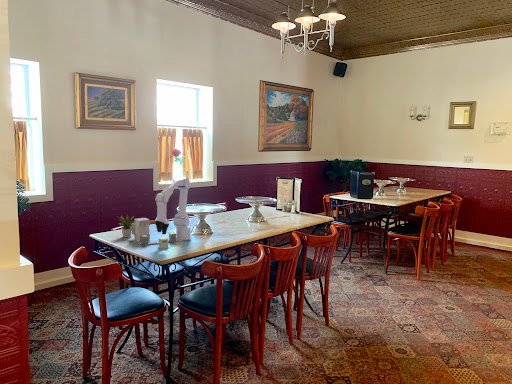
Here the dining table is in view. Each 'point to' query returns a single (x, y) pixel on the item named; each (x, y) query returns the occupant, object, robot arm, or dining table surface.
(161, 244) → the block
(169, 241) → the steel rail
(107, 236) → the dining table surface
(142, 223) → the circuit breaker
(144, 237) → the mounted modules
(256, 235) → the dining table surface
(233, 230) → the dining table surface
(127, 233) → the house plant
